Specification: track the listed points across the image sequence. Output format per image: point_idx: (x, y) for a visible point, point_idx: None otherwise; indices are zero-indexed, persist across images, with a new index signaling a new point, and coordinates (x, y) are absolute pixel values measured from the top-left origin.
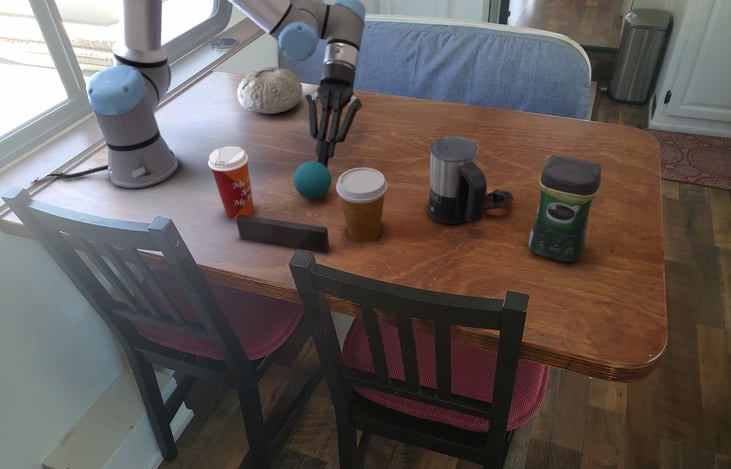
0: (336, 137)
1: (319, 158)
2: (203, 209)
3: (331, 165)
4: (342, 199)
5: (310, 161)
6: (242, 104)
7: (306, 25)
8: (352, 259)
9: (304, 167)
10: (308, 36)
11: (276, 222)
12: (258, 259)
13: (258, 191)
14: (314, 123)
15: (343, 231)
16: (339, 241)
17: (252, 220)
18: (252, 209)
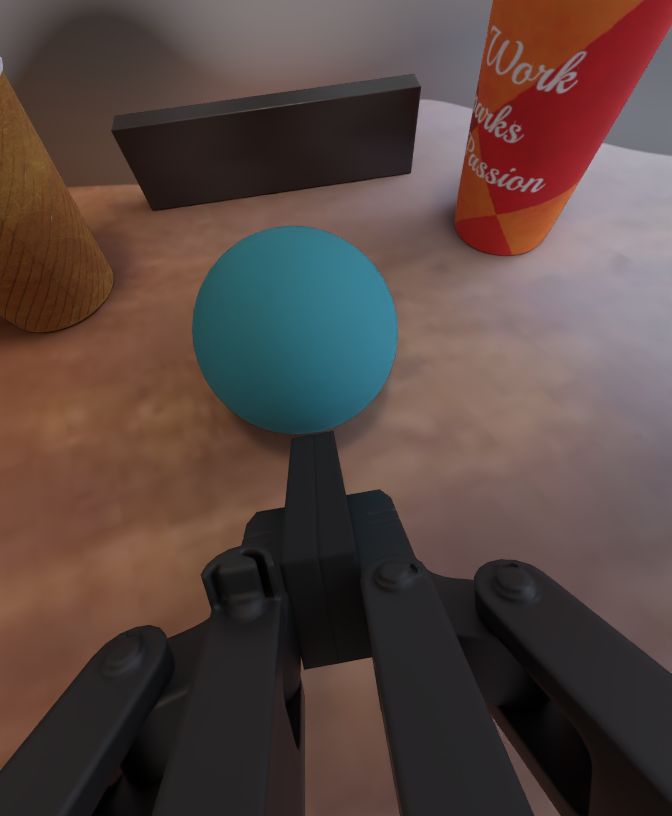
0: (186, 664)
1: (330, 462)
2: (625, 199)
3: (368, 697)
4: None
5: (312, 302)
6: None
7: None
8: (80, 203)
9: (308, 235)
10: None
11: (280, 98)
12: None
13: (550, 329)
14: (637, 758)
15: (129, 270)
16: (131, 237)
17: (359, 83)
18: (460, 218)
